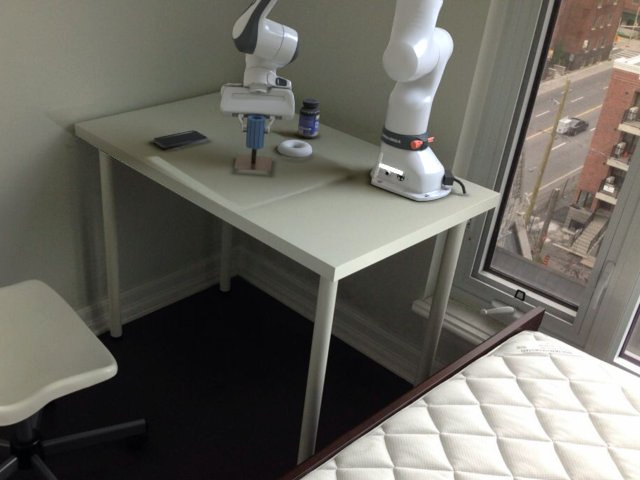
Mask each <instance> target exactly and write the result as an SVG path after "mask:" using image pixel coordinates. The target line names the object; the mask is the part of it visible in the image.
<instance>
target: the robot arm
mask: <svg viewBox="0 0 640 480" xmlns="http://www.w3.org/2000/svg"><path fill="white" fill-rule="evenodd" d="M278 1H279V0H252V1H251V2H250V4H249V5H248V7H246V9H245V10H244V11H243V12H242V13H241V14H240V15H239V17H238V18H237V20H236V21H235V22H234V25H233V27H232V30H231V39H232V42H233V44H234V46H235V48H236V49H237V51H238V52H239V53H242V54H245V57H244V60H245V61H244V62H245V69H244V72H243V81H242V82H243V83H233V82H226V84H223V85H222V86H221V87H220V97H221V100H220V105H219V112H220V114H221V116H222V117H227V118H237V119H238V123H239V124H240V126H241V129H240V131H241V133H247V123H245V122H244V119H247V117H248V116H249V115H261V116H264V117H265V118H266V120H269V123H268V124H265V134H267V135H270V134H271V128H273V126H274V125H275V122H276V121H289V122H290V121H292V120H293V119H294V118H295V113H296V112H295V111H296V104H295V96H294V93H293V91H292V89H293V88H292V82H291V80H289V79H287V78H284V77H281V76H279V75H277V70H278V69H282V68H284V67H286V66H289V65H290V64H292V63H294V61H296V60H297V59H298V57H299V55H300V50H301V38H300V35H299V33H298V31H297V30H295V29H294V28H291V27H289V26H287V25H286V24H285V25H284V24H283V23H279V22H276V21H274V20H272V19H269V18H267V16H268V15H269V14H270V12H271V10H272V9H273V8H274V7H275V5H276V4H277V2H278ZM443 3H444V0H395V11H394V17H393V21H392V27H391V32H390V36H389V41H388V44H387V46H386V48H385V50H384V52H383V55H382V69H383V71H384V72H385V74H386V76H387V77H388V78H390V79H391V80H393V81H395V82H396V83H395V85H394V88H393V89H392V91H391V92H390V95H389V97H388V102H387V107H386V115H385V121H384V124H383V125H382V129H381V133H380V140H381V143H380V145H379V146H380V147H379V149H378V154H377V157H376V160H375V163H374V165H373V167H372V170H371V172H370V177H371V182H370V184H371V185H372V186H375V187H378V188H381V189H384V190H385V191H388V192H392V193H394V194H397V195H400V196H402V197H406V198H408V199H411V200H413V201H416V202H428V201H435V200H438V199H441V198H444V197H447V196H448V195H449V194H450V193H451V191H452V186H454V183H455V182H456V184H459V186H460V187H461V190H462V195H465V194H467V191H466V189H467V188H466V187H465V184H464V183H463V182H462V181H461V180H459V179H458V178H456V177H455V176H454V175H453V172H452V171H451V170H450V169H445V167H444V165H443V164H442V163H441V162H440V160H439V159H438V157H437V156H436V154H435V153H434V152H433V150H432V149H431V147H430V145H431V144H430V143H432V142H434V140H433V139H434V138H435V136H432V137H429V131H428V126H429V125H428V124H429V120H430V116H431V110H432V105H433V102H434V99H435V96H436V93H437V90H438V87H439V85H440V83H441V80H442V78H443V74H444V71H445V68H446V65H447V63H448V61H449V59H450V57H451V56H452V54H453V50H454V41H453V38H452V35H451V34H450V33H449V32H448V31H447V30H446V29H444V28H442V27H437V26H436V25H437V20H438V17H439V15H440V11H441V8H442V7H443Z"/></svg>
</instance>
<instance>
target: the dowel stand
mask: <svg viewBox="0 0 640 480" xmlns="http://www.w3.org/2000/svg"><path fill="white" fill-rule="evenodd" d="M257 154H258V149H251V154H250V155H245V154H236V157H235V161H234V169H235V170H246V171H248V170H249V171H262V172H272V165H273V164H272V163H273V156H264V155H263V156H262V155H261V156H260V155H257Z"/></svg>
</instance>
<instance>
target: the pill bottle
mask: <svg viewBox="0 0 640 480" xmlns="http://www.w3.org/2000/svg"><path fill="white" fill-rule="evenodd" d="M319 102H320V101H319V100H318V99H316V98H311V97H309V98H304V99H303V100H302V106H301V107H300V109H299V117H298V126H297V127H298V128H297V135H298V137H300V138H302V139H307V140H311V139H312V140H313V139H316V138H317V137H318V133H319V123H320V114H321V113H320V112H321V110H320V109H319V107H318V106H319Z"/></svg>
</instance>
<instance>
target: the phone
mask: <svg viewBox="0 0 640 480" xmlns="http://www.w3.org/2000/svg"><path fill="white" fill-rule="evenodd" d="M203 142H204V143H205V142H208V136H206V135H204V134H203V133H201V132H199V131H197V130H195V129H193V130H188V131H183V132H178V133H172V134H168V135H163V136H162V135H161V136H157V137H153V139H152V143H153V144H154V145H155V146H157V147H159V148H160V149H162V151H169V150H173V149H177V148H181V147H186V146H190V145H195V144H200V143H203Z"/></svg>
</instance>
